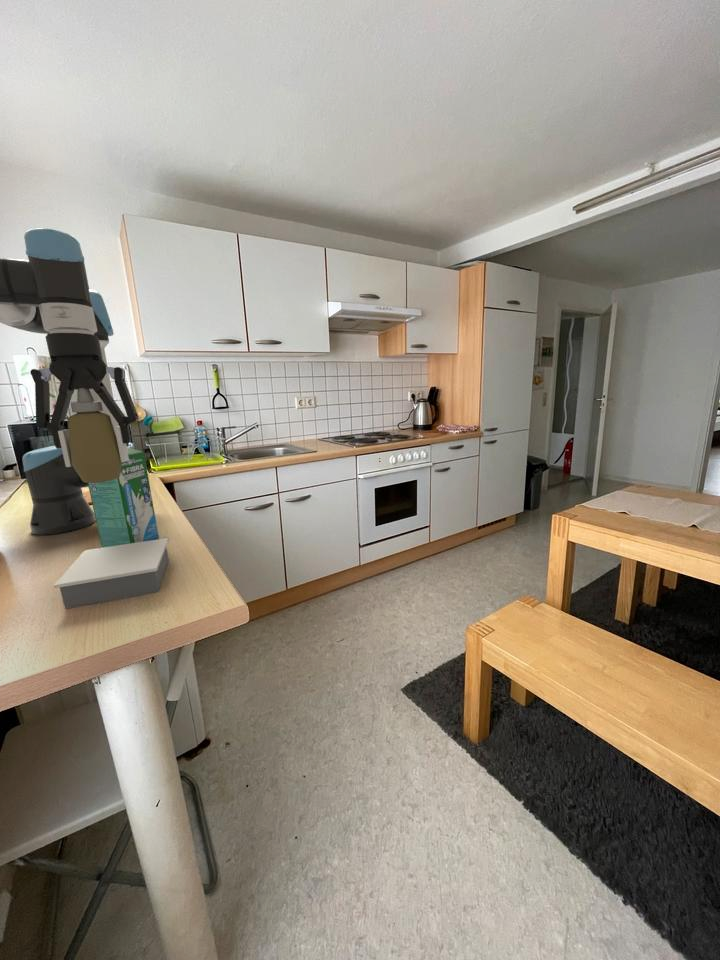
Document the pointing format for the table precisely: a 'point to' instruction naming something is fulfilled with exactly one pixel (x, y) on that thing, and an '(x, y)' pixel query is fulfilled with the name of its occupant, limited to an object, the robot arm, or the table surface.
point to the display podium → (114, 573)
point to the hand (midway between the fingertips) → (98, 463)
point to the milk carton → (125, 504)
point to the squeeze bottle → (93, 441)
